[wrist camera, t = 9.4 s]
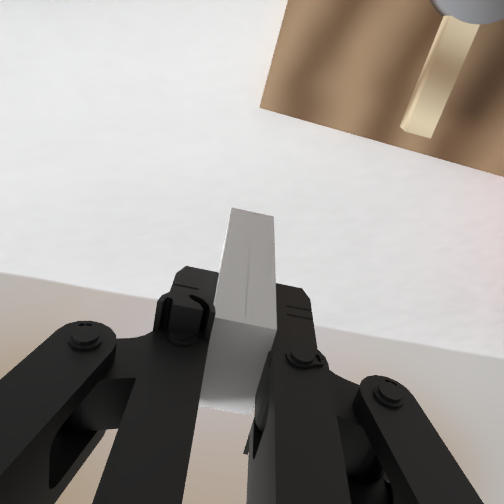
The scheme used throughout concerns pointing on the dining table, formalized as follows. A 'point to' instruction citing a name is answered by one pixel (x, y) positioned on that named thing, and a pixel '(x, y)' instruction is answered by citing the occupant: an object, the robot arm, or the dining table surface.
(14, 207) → the dining table surface
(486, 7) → the capstan
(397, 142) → the stand
